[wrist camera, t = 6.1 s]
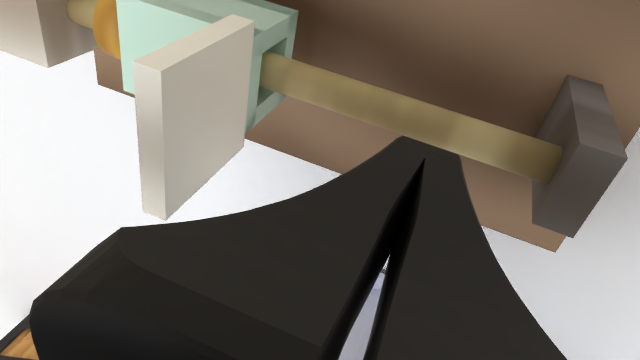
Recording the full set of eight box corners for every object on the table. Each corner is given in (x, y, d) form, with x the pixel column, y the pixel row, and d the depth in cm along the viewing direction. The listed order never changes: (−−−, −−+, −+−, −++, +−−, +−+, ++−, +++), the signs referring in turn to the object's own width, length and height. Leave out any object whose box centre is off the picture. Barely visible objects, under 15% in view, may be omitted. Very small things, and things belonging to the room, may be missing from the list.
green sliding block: (284, 108, 15) (165, 220, 10) (179, 71, 16) (22, 160, 11) (300, -4, 13) (161, 70, 8) (179, -40, 14) (-16, 9, 9)
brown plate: (554, 235, 18) (562, 365, 13) (113, 76, 22) (-3, 133, 17) (739, -48, 12) (874, 4, 7) (87, -198, 16) (-104, -229, 11)
